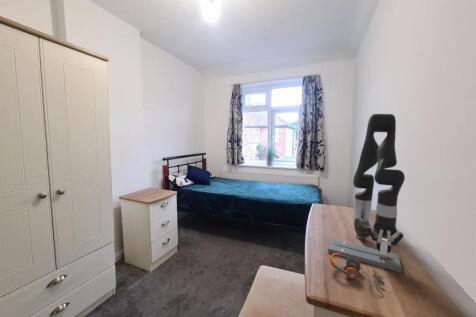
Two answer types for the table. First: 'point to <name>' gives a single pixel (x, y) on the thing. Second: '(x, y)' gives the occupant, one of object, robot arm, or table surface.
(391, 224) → the robot arm
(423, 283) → the table surface
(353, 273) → the headphones
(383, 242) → the fader
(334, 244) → the console
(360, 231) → the alarm clock
